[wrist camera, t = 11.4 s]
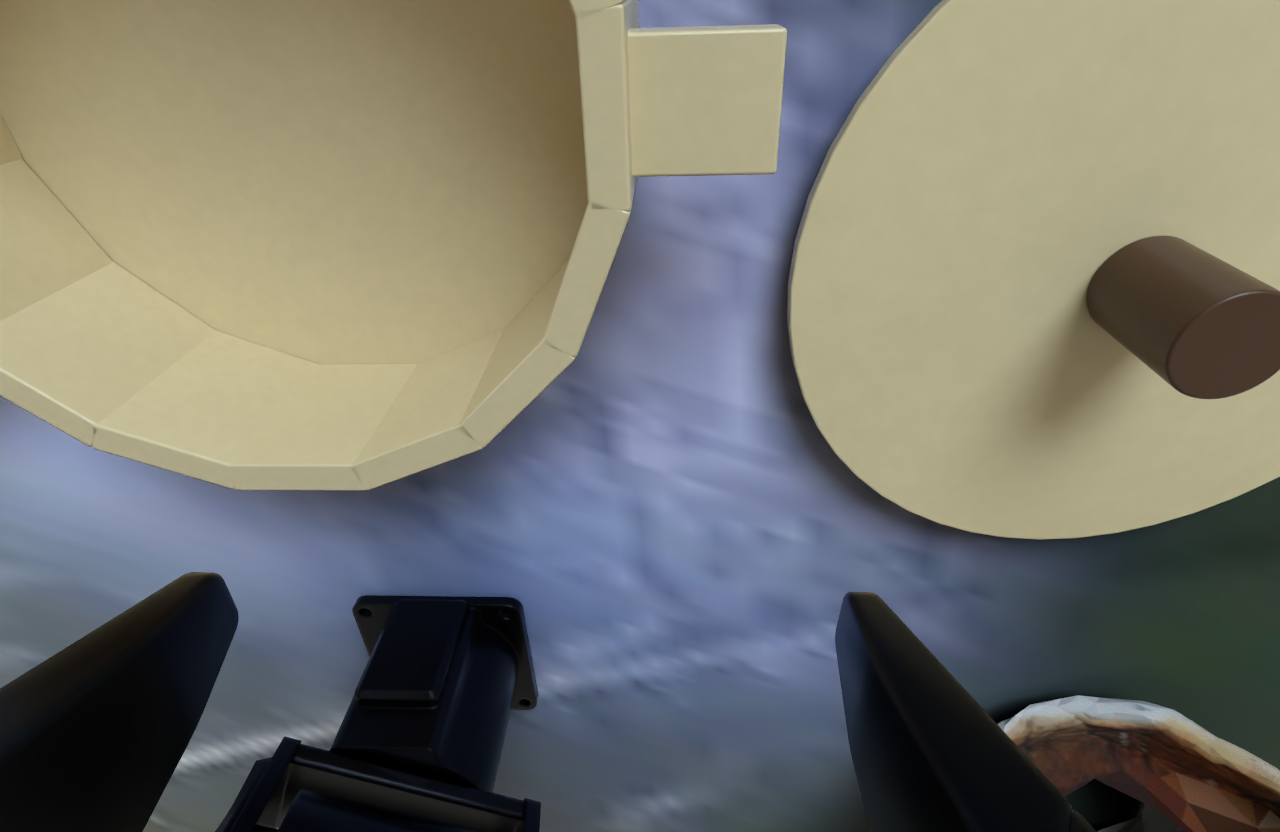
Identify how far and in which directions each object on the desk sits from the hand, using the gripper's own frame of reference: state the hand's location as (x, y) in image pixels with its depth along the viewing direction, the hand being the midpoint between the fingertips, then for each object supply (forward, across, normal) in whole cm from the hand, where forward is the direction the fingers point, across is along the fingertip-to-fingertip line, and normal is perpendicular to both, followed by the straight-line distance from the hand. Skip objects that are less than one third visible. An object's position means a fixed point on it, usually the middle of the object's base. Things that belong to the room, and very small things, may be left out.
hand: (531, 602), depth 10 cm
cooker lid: (+11, -14, -1) cm, 18 cm away
